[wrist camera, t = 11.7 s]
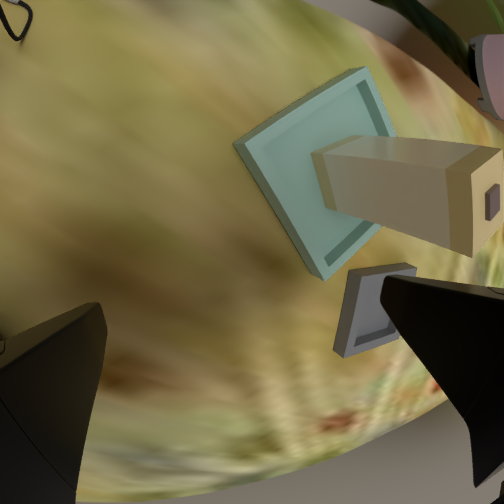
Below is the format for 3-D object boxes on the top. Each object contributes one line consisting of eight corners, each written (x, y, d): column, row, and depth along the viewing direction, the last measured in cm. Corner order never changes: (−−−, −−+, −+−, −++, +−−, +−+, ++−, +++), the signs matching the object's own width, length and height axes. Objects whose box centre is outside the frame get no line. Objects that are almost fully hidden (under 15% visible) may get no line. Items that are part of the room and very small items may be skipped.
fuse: (325, 207, 23) (477, 260, 12) (310, 152, 21) (476, 175, 11) (364, 186, 24) (508, 223, 14) (352, 135, 22) (507, 149, 12)
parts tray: (311, 273, 25) (324, 281, 23) (232, 143, 19) (244, 143, 18) (399, 188, 27) (414, 192, 25) (350, 68, 21) (367, 65, 20)
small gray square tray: (331, 358, 29) (341, 367, 28) (349, 270, 27) (361, 276, 25) (386, 339, 33) (396, 346, 31) (405, 262, 30) (417, 267, 29)
